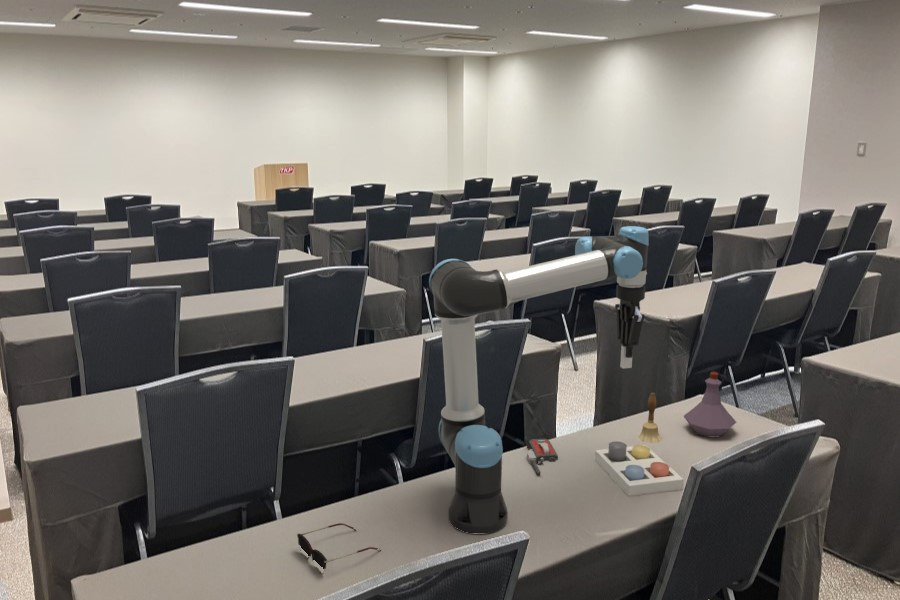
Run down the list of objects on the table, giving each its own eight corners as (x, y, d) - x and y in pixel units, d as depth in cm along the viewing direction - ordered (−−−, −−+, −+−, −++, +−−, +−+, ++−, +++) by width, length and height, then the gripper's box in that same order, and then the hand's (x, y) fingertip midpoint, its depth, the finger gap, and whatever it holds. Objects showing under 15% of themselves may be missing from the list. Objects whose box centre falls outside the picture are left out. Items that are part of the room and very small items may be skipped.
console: (628, 499, 203) (629, 485, 202) (594, 462, 224) (595, 450, 223) (682, 492, 207) (683, 479, 206) (644, 457, 228) (645, 444, 227)
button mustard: (636, 466, 218) (637, 453, 217) (628, 458, 223) (629, 446, 222) (652, 464, 219) (653, 451, 218) (644, 456, 224) (644, 444, 223)
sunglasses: (296, 551, 180) (296, 532, 179) (355, 532, 190) (355, 514, 189) (324, 579, 170) (325, 559, 169) (384, 558, 180) (385, 539, 178)
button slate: (629, 487, 206) (630, 474, 205) (621, 478, 211) (622, 465, 210) (646, 485, 207) (647, 472, 206) (638, 476, 212) (639, 463, 211)
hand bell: (631, 437, 241) (634, 390, 237) (653, 433, 244) (657, 387, 240) (645, 448, 234) (648, 399, 230) (668, 444, 236) (672, 396, 232)
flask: (734, 424, 251) (740, 367, 246) (736, 445, 235) (743, 385, 230) (682, 418, 255) (687, 362, 250) (681, 438, 240) (686, 379, 235)
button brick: (654, 484, 208) (655, 471, 207) (646, 475, 212) (647, 462, 211) (671, 482, 209) (672, 469, 208) (662, 473, 214) (663, 461, 213)
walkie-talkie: (520, 447, 235) (535, 478, 216) (520, 434, 234) (535, 464, 215) (548, 445, 236) (565, 476, 217) (548, 432, 235) (565, 462, 216)
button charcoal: (612, 462, 216) (613, 449, 215) (605, 455, 221) (606, 442, 220) (628, 460, 217) (629, 448, 216) (621, 453, 222) (621, 440, 221)
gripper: (655, 289, 198) (649, 374, 204) (632, 278, 210) (627, 358, 216) (629, 290, 196) (624, 376, 202) (607, 279, 208) (603, 360, 214)
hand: (625, 367), depth 209 cm, fingers closed
